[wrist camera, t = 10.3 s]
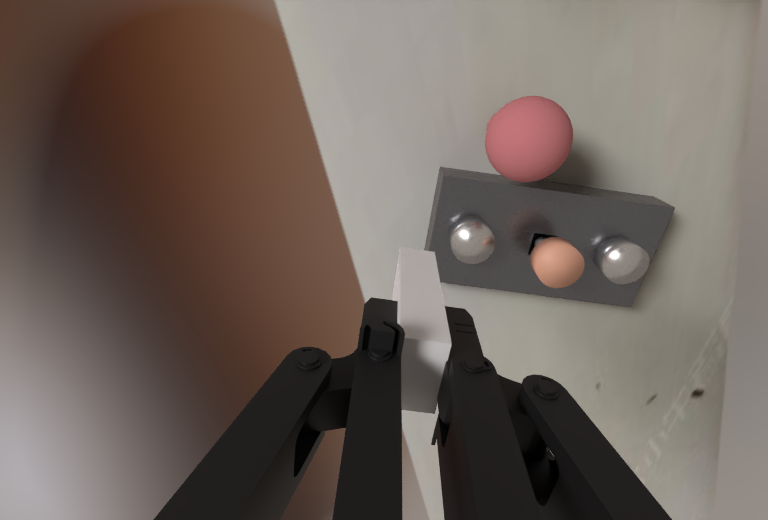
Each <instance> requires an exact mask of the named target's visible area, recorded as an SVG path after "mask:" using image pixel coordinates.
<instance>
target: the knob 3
mask: <svg viewBox="0 0 768 520" xmlns="http://www.w3.org/2000/svg"><path fill="white" fill-rule="evenodd" d="M594 261H595V264H596V266H597V268H598V269H599V270H600V271H601V272H602V273H603V274H604V275H605V276H606V277H607V278H608V279H609V280H610V281H612V282H613V283H616V284H628V283H632V282H634V281H636V280H638V279H639V278H641V277H642V276H643V275H644V274H645V272H646V271H647V269H648V266H649V261H650V260H649V255H648V253H647V252H646V251H645V250H644V249H643V248H641V247H640V246H639V245H637V244H636V243H635V242H633V241H632V240H631V239H629V238H627V237H621V236H619V237H613V238H610V239H608V240H606V241H605V242H603V243H602V244H601V245H600V246H599V247H598V249H597V251H596V253H595V257H594Z"/></svg>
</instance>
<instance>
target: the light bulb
mask: <svg viewBox="0 0 768 520" xmlns="http://www.w3.org/2000/svg"><path fill="white" fill-rule="evenodd" d="M572 141H573V129H572V124H571V121H570V119H569V117H568V115H567V113H566V112H565V111H564V110H563V108H562V107H561V106H559V105H558V104H557V103H555V102H554V101H552V100H550V99H547V98H544V97H540V96H527V97H522V98H519V99H516V100H514V101H511V102H510V103H508V104H506V105H505V106H504V107H503V108H501V109H500V110H499V111H498V112H497V113H496V114H494V115H493V116H492V118H491V119H490V120H489V122H488V125H487V133H486V140H485V147H486V153H487V156H488V159H489V161H490V163H491V164H492V166H493V167H494V168H495V169H496V171H498V172H499V173H500V174H501V175H503V176H504V177H506V178H508V179H510V180H514V181H518V182H532V181H537V180H540V179H543V178H545V177H547V176H549V175H551V174H552V173H554V172H555V171H556V170H557V169H558V168H559V167H560V166H561V165H562V164H563V163H564V161H565V160H566V158H567V156H568V154H569V152H570V149H571V146H572Z"/></svg>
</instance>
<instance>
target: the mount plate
mask: <svg viewBox="0 0 768 520" xmlns="http://www.w3.org/2000/svg"><path fill="white" fill-rule="evenodd" d="M674 209H675V207H673V206H671V205H669V204H667V203H665V202H663V201H661V200H659V199H657V198H655V197H653V196H646V195H639V194H631V193H624V192H617V191H610V190H603V189H595V188H588V187H581V186H574V185H567V184H560V183H552V182H545V181H538V180H537V181H532V182H518V181H514V180H510V179H508V178H506V177H504V176H502V175H495V174H488V173H480V172H473V171H466V170H459V169H452V168H444V167H440V169H439V175H438V180H437V185H436V191H435V196H434V201H433V207H432V212H431V217H430V223H429V228H428V233H427V239H426V244H425V249H424V250H425V251H432V252H435V256H436V262H437V267H438V273H439V278H440V282H444V283H452V284H459V285H467V286H474V287H482V288H489V289H497V290H504V291H512V292H520V293H527V294H535V295H542V296H550V297H557V298H565V299H572V300H580V301H587V302H595V303H602V304H610V305H617V306H625V307H631V305H632V303H633V300H634V298H635V296H636V294H637V292H638V289H639V287H640V285H641V283H642V280H643V278H644V276H645V274H646V272H647V271H646V272H645V274H644V275H643V276H642V277H641V278H639V279H638V280H636V281H634V282H632V283H628V284H616V283H613V282H612V281H610V280H609V279H608V278H607V277H606V276H605V275H604V274H603V273H602V272H601V271H600V270H599V269H598V268H597V266H596V264H595V261H594V257H595V253H596V251H597V249H598V247H599V246H600V245H601V244H602V243H603V242H605V241H606V240H608V239H610V238H613V237H619V236H621V237H627V238H629V239H631V240H632V241H633V242H635V243H636V244H637V245H639V246H640V247H641V248H643V249H644V250H645V251H646V252H647V253H648V255H649V260H650V261H649V265H650V263H651V260H652V258H653V256H654V254H655V252H656V249H657V247H658V245H659V243H660V240H661V238H662V236H663V234H664V232H665V229H666V227H667V225H668V223H669V220H670V218H671V216H672V214H673V211H674ZM467 216H475V217H479V218H481V219H483V220H484V221H485V222H486V223H487V224H488V226H489V228H490V230H491V231H492V233H493V235H494V238H495V248H494V251H493V253H492V254H491V255H490V256H489V257H488V258H487V259H486V260H485V261H483V262H480V263H477V264H466V263H463V262H461V261H460V260H458V259H457V258H456V257H455V255H454V254H453V251H452V248H451V244H450V241H449V232H450V229H451V227H452V226H453V224H454V223H455V222H456V221H458V220H459V219H461V218H463V217H467ZM534 233H540V234H543V235H542V237H545V238H550V237H561V238H564V239H566V240H568V241H569V242H570V243H571V244H572V245H573V246H574V247H575V248H576V249H577V250H578V251H579V252H580V253H581V255H582V256H583V258H584V263H585V266H584V270H583V273H582V275H581V276H580V277H579V279H578V280H577V281H575V282H574V283H573V284H571V285H569V286H567V287H563V288H552V287H548V286H546V285H545V284H543V283H542V282H541V281H540V279H539V278H538V276H537V275H536V273H535V272H534V270H533V268H532V267H531V264H530V255H531V252H532V250H533V249H534V243H531V242H532V239H533V236H534ZM648 267H649V266H648Z"/></svg>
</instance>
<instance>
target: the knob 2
mask: <svg viewBox="0 0 768 520" xmlns="http://www.w3.org/2000/svg"><path fill="white" fill-rule="evenodd" d="M530 264H531V267H532V268H533V270H534V272H535V273H536V275H537V276H538V278H539V279H540V281H541V282H542V283H543V284H545V285H546V286H548V287H552V288H563V287H567V286H569V285H571V284H573V283H574V282H575V281H577V280H578V279H579V277H580V276H581V275H582V273H583V270H584V266H585V263H584V258H583V256H582V255H581V253H580V252H579V251H578V250H577V249H576V248H575V247H574V246H573V245H572V244H571V243H570V242H569V241H568V240H566V239H564V238H561V237H550V238H545V237H539V238H537V239H536V240H535V242H534V249H533V250H532V252H531V255H530Z"/></svg>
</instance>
